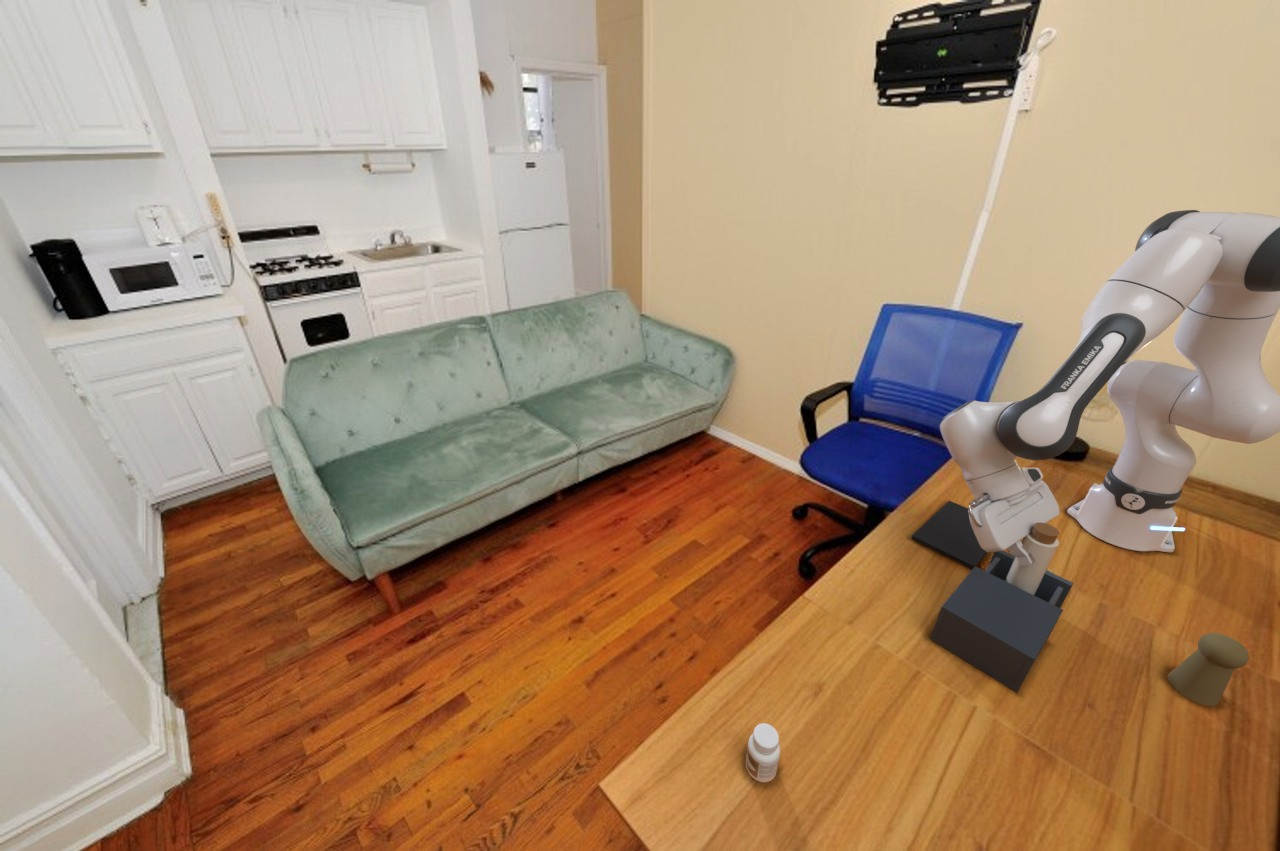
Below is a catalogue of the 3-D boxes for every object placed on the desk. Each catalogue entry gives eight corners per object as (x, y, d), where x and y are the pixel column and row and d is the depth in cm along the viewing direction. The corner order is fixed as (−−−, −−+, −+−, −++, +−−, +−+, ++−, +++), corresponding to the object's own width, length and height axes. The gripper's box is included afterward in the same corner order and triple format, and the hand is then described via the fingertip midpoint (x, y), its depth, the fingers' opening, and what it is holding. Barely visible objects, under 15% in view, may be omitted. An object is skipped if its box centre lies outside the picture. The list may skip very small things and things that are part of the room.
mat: (948, 503, 126) (949, 500, 125) (1007, 529, 117) (1008, 525, 117) (910, 538, 115) (912, 535, 114) (973, 570, 106) (974, 566, 105)
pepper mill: (1009, 573, 98) (1034, 516, 91) (1039, 587, 94) (1067, 529, 88) (1000, 586, 95) (1025, 528, 88) (1030, 601, 92) (1058, 542, 85)
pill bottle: (741, 752, 75) (746, 721, 71) (770, 749, 75) (776, 718, 71) (750, 785, 71) (755, 753, 67) (780, 781, 71) (787, 750, 67)
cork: (1230, 709, 79) (1270, 663, 74) (1184, 702, 80) (1221, 656, 75) (1200, 674, 84) (1236, 629, 79) (1158, 668, 85) (1190, 623, 80)
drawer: (994, 561, 107) (1004, 538, 104) (1067, 596, 98) (1080, 571, 95) (960, 604, 97) (969, 580, 94) (1037, 647, 88) (1050, 622, 85)
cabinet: (962, 597, 99) (975, 566, 96) (1045, 642, 90) (1063, 609, 86) (929, 638, 91) (941, 606, 87) (1017, 693, 82) (1034, 659, 78)
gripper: (981, 500, 86) (1024, 578, 83) (1044, 465, 95) (1085, 535, 92) (949, 507, 92) (988, 581, 89) (1011, 474, 100) (1048, 540, 97)
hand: (1038, 557), depth 90 cm, fingers closed on pepper mill, 5 cm apart
